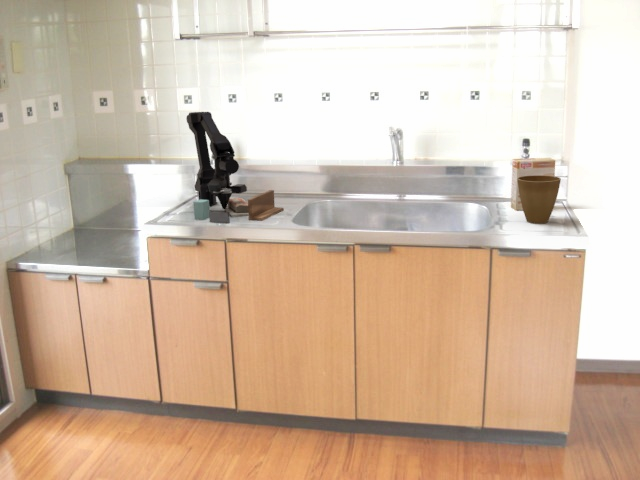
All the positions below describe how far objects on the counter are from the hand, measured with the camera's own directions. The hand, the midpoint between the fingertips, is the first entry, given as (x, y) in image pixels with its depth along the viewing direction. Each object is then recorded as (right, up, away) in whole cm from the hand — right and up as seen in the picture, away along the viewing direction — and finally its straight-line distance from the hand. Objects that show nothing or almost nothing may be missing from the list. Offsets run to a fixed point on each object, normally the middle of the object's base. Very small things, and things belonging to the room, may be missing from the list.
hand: (224, 209), depth 288 cm
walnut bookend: (+18, -3, -8) cm, 19 cm away
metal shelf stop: (+1, -6, -18) cm, 19 cm away
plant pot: (+118, -6, -29) cm, 122 cm away
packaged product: (+6, -2, 0) cm, 6 cm away
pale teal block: (-7, -4, -11) cm, 14 cm away
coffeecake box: (+122, 0, -7) cm, 123 cm away
